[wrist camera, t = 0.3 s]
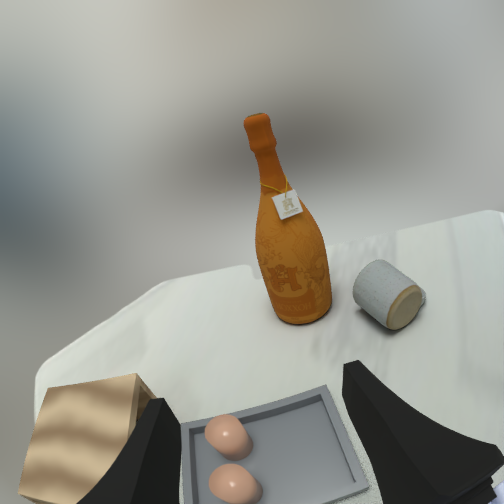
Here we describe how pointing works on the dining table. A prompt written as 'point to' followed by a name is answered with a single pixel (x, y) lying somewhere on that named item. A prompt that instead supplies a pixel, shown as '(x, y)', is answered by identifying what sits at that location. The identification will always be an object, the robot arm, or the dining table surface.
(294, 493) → the tray
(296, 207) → the wine bottle
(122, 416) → the wooden l-shaped bracket
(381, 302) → the ceramic mug
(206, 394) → the dining table surface
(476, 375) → the dining table surface
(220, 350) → the dining table surface
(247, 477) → the pink round cylinder
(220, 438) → the peg
